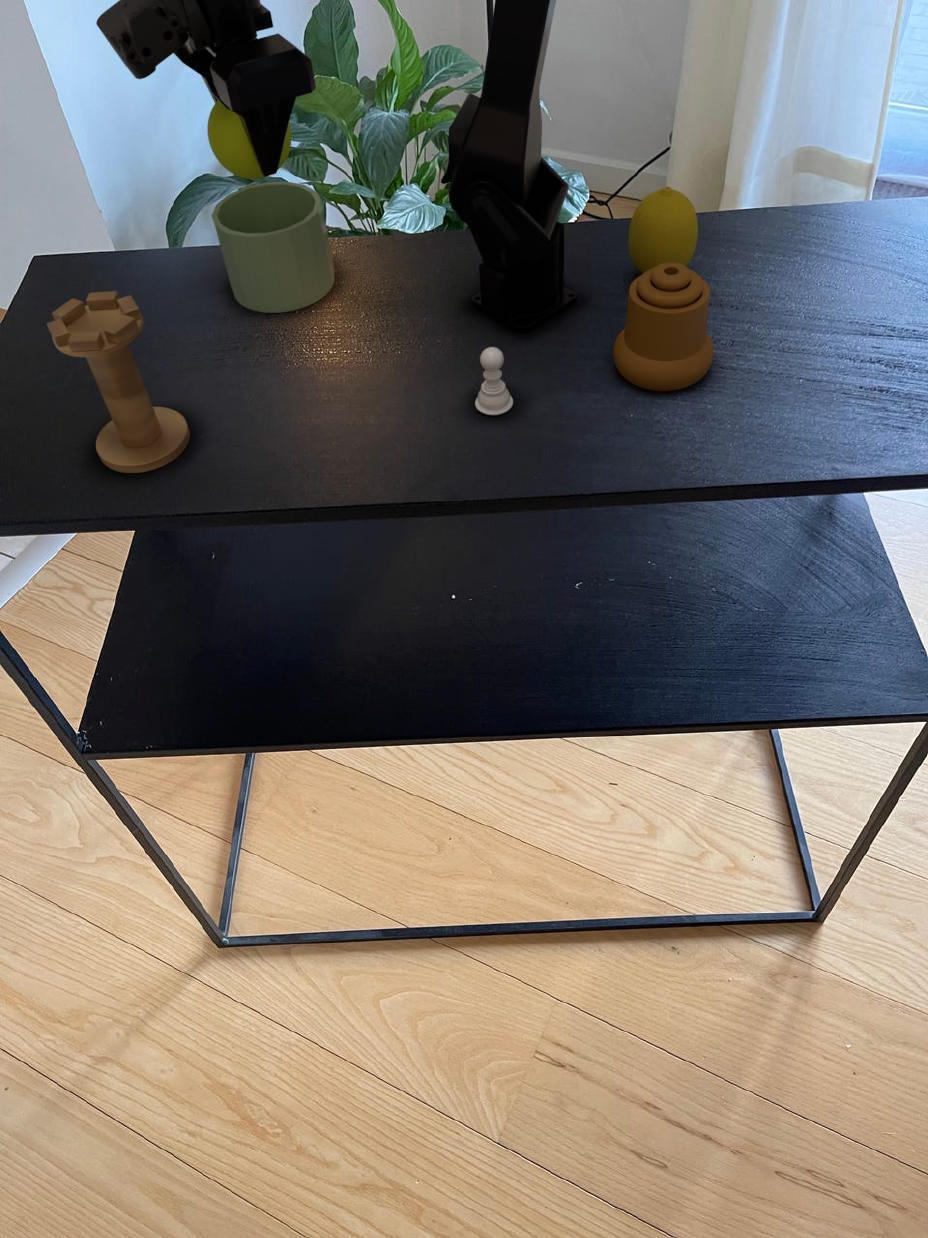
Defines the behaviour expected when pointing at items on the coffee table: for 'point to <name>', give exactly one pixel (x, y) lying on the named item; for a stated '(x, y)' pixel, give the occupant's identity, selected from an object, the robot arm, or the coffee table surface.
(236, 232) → the cup
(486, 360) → the chess pawn
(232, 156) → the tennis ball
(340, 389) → the coffee table surface
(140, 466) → the chess rook
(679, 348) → the ornamental finial
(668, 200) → the lemon
